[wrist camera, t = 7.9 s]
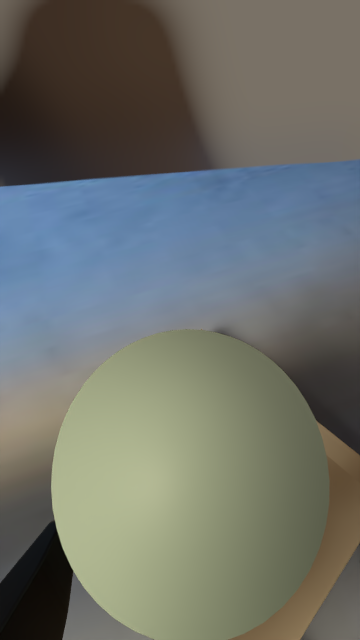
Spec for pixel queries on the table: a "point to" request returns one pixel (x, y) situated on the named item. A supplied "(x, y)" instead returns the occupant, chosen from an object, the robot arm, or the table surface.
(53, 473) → the green tapered capsule
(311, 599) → the wooden ladder frame
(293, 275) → the table surface
